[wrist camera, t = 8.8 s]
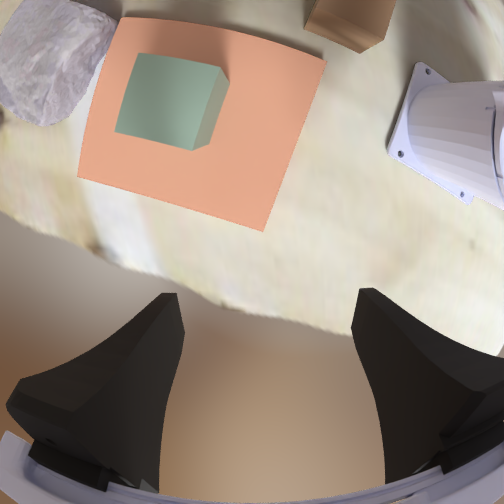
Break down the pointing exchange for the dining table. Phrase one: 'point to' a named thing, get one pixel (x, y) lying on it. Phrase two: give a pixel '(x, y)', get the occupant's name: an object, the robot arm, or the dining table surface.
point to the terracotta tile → (226, 129)
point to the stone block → (51, 57)
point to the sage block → (172, 101)
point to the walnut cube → (351, 21)
